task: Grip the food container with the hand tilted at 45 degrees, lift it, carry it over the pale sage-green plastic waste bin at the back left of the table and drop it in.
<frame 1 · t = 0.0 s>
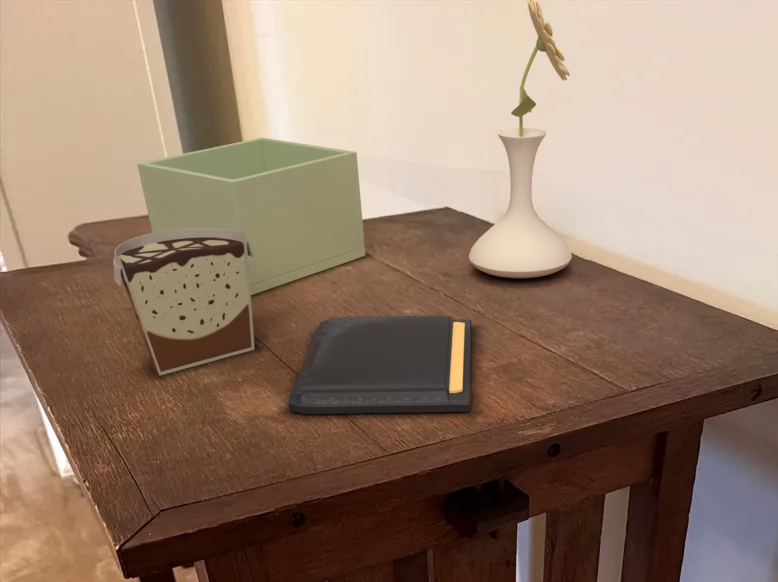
bin: (264, 262, 106), on the table
food container: (193, 354, 84), on the table
wallet: (388, 369, 81), on the table
flower in vase: (521, 271, 103), on the table
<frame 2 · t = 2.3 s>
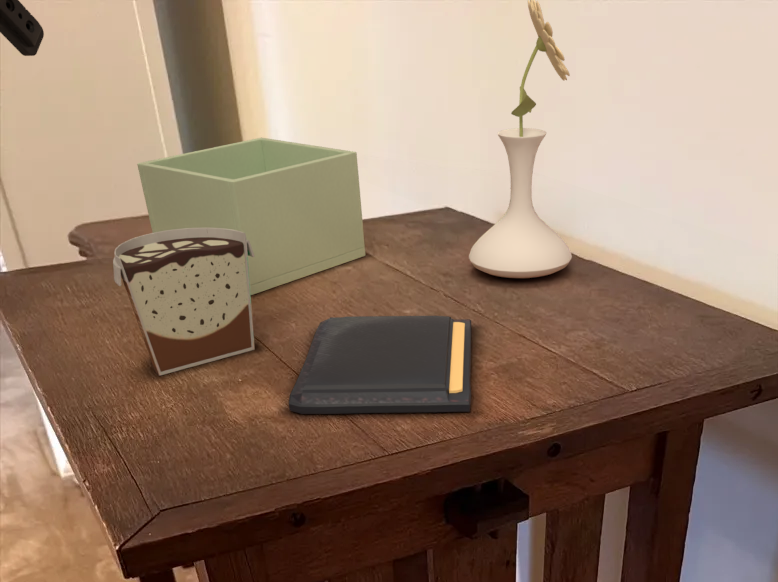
nothing on the table moved.
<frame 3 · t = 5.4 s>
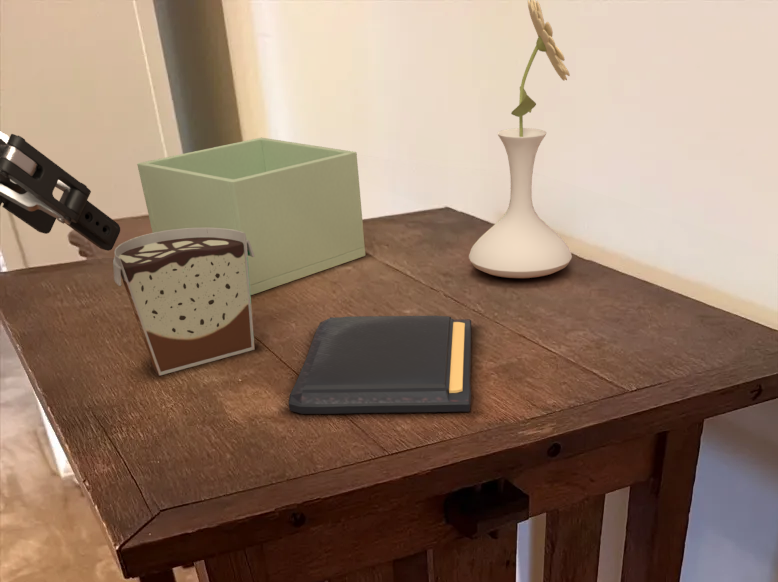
hand: (81, 231, 72), 12 cm above the table, tool tilted 45°, fingers open, 8 cm apart
nothing on the table moved.
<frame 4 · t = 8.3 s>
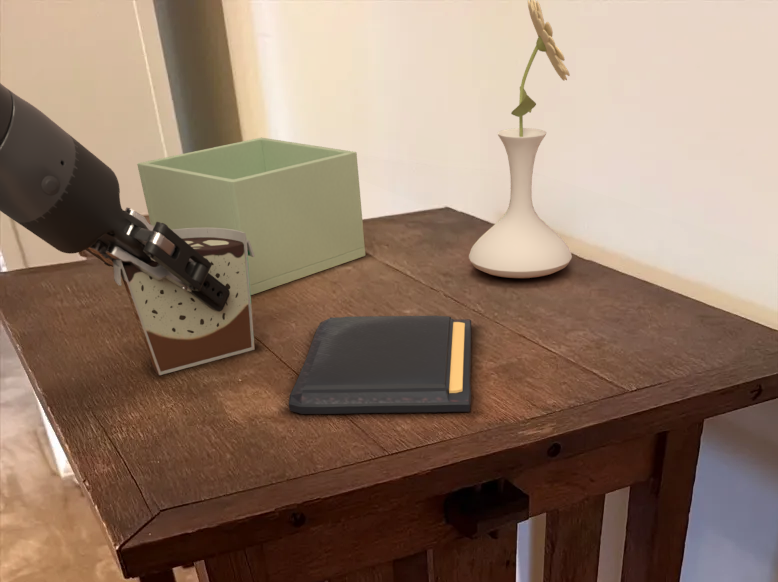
hand: (196, 293, 82), 5 cm above the table, tool tilted 45°, fingers closed on food container, 6 cm apart
food container: (193, 354, 84), on the table, touching gripper
everything else where it was.
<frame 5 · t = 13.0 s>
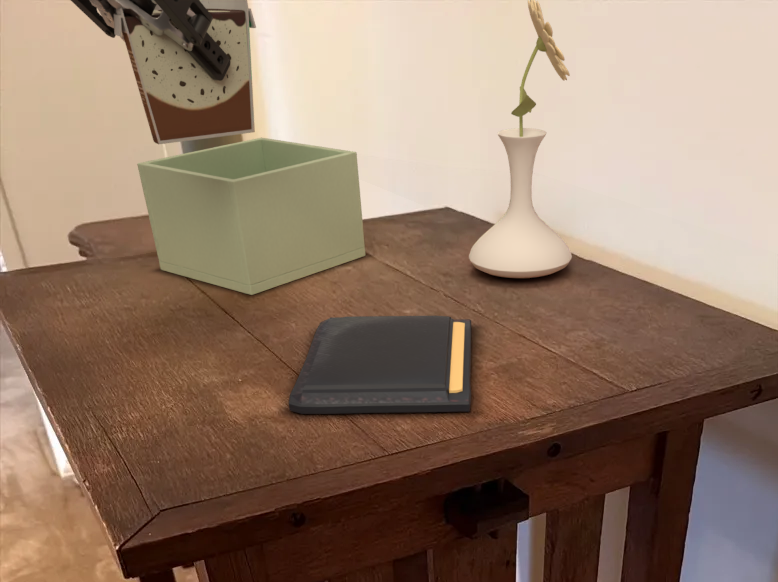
hand: (197, 68, 81), 21 cm above the table, tool tilted 45°, fingers closed on food container, 6 cm apart
food container: (193, 135, 84), point 16 cm above the table, touching gripper
everything else where it was.
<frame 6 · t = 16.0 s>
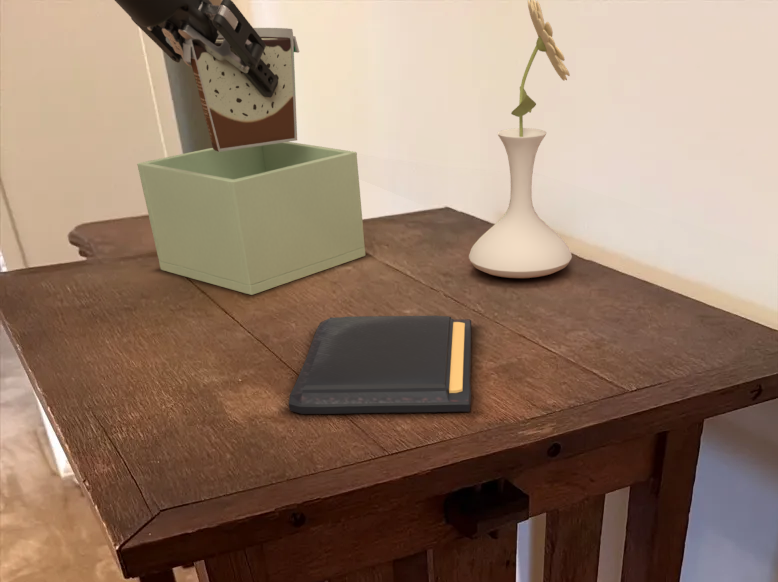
hand: (248, 87, 96), 17 cm above the table, tool tilted 45°, fingers closed on food container, 6 cm apart
food container: (245, 144, 98), point 12 cm above the table, touching gripper
everything else where it was.
when the fingers open (13 cm above the table, at t = 17.9 s): food container drops 7 cm, resting on bin.
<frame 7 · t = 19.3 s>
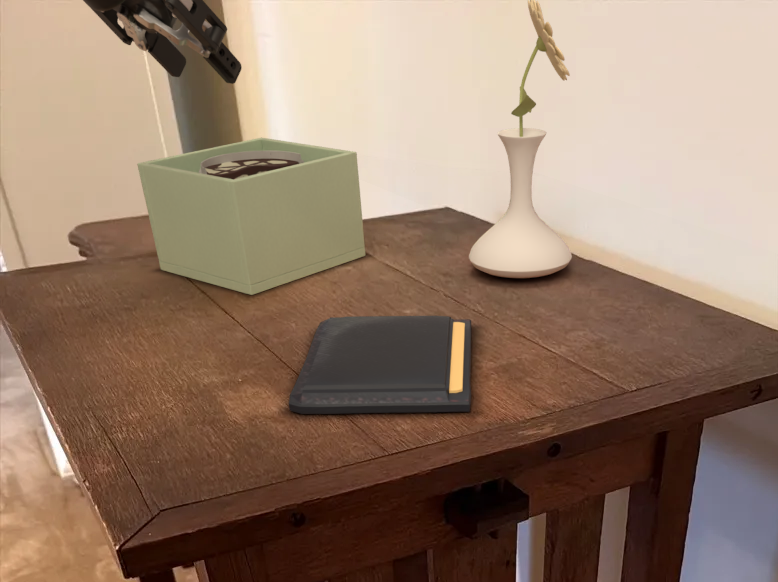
hand: (207, 72, 92), 19 cm above the table, tool tilted 45°, fingers open, 8 cm apart
food container: (256, 254, 106), point 1 cm above the table, touching bin
everything else where it was.
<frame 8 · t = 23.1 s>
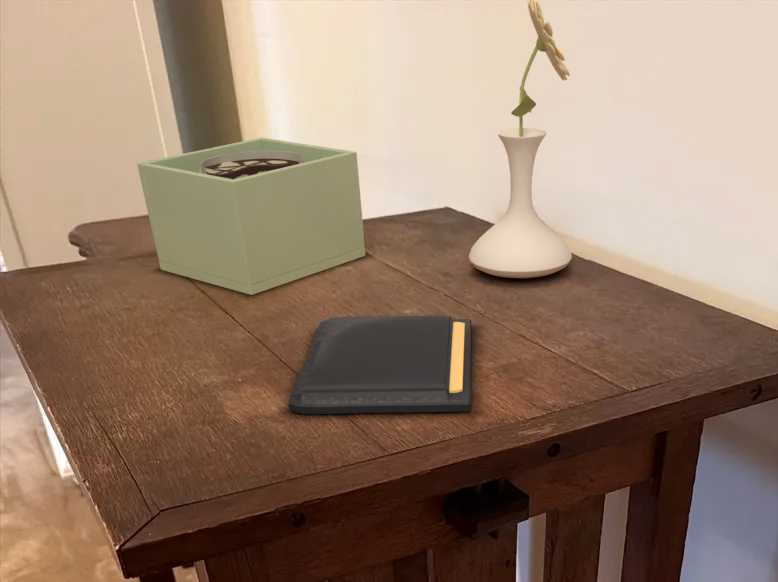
nothing on the table moved.
at the end: food container inside the target area in the bin (1.0 cm from its centre), point 0.8 cm above the bin's base; the gripper is holding nothing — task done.
